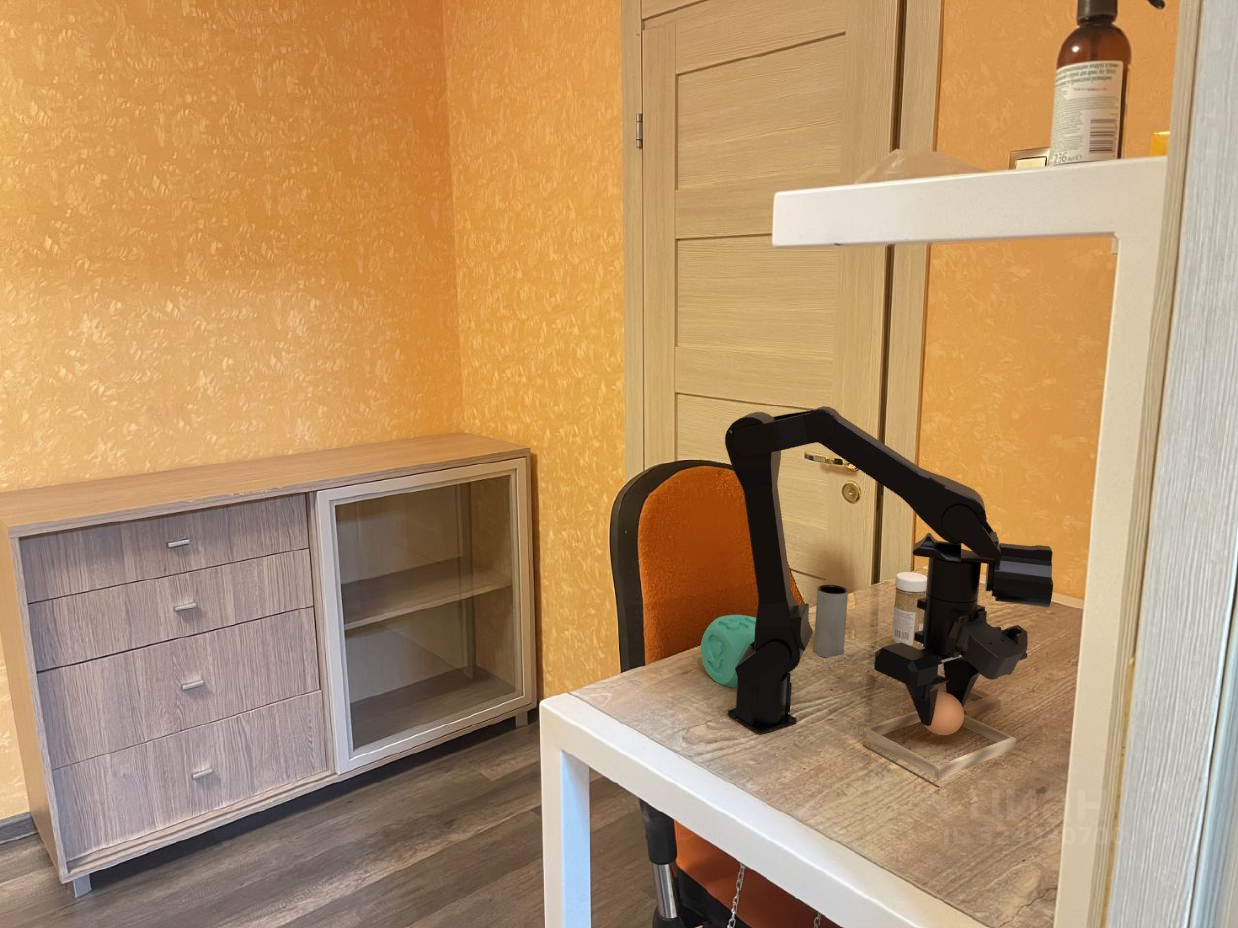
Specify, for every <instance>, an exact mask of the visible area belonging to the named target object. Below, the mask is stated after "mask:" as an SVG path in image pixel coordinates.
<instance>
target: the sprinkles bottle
mask: <svg viewBox="0 0 1238 928" xmlns="http://www.w3.org/2000/svg"><path fill="white" fill-rule="evenodd" d="M894 584H895V585H894V586H895V597H894V598H895V599H894V608H893V618H892V619H893V620H892V621H893V622H892V633H891V639H892V641H891V642H892V643H891V645H893V644H897V643H901V642H902V643H905V644H907V645H909V646H912V647H914V648H917V649H922V646H923V644H922V643H919V642H917V641H914V635H915V632H918V631H922V630H923V621H924V610H922V609H920V608H917V599H921V598H926V586H927V576H926V575H924V574H922V573H918V572H912V571H904V572H903V571H901V572H899V573H897V574H896V575H895V583H894Z"/></svg>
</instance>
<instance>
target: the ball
mask: <svg viewBox="0 0 1238 928" xmlns="http://www.w3.org/2000/svg"><path fill="white" fill-rule="evenodd" d="M963 720H964V711H963V707H962V705H961V703H960V702H959V701H958V700H957V699H956V698H955V697H954V696H953V695H951V694H949V693H946V692H938V693H937V699H936V704H935V710H934V715H933V719H932V723H931V725H930V726H926V725H924V727H925V728H926V729H927V730H928V731H929V732H932V733H933V734H935V735H940V736H949V735H952V734H954V733H956V732H957V731H958V730H959V729H960V728H961V727H962V726H961V725H962V723H963Z"/></svg>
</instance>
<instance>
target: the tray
mask: <svg viewBox="0 0 1238 928" xmlns="http://www.w3.org/2000/svg"><path fill="white" fill-rule="evenodd" d="M918 723H921V720H920V718H919V715H918V713H917V711H916V710H915V711H911V712H909V713H906V714H903V715H899V716H896V717H894V718H891V719H887V720H885V721H882V722H879V723H876V724H873V725H869V726H867V727H864V728H863V734H862V739H863V740H864V741H866V742H868V743H870V744H871V745H873V746H876V747H877V748H879V749H881V750H883V751H885V752H887V753H888V754H890V755H892V756H894V757H896V758H898V759H899V760H902V761H903V762H905V763H907V764H908V765H911V766H912V767H914V768H916V769H917V770H919V771H921V772H923V773H925V774H926V775H929V776H930V777H932V778H934V779H936V780H937V781H940V780H942V779H945V778H947V777H949V776H952V775H954V774H956V773H960V772H962V771H964V770H967V769H970V768H972V767H974V766H977V765H980V764H982V763H984V762H987V761H988V760H992V759H994V758H996V757H999V756H1001V755H1004V754H1007V753H1009V752H1012V751H1014V750H1016V747H1017V740H1018V739H1017V738H1016V737H1014V736H1012V735H1011V734H1008V733H1006V732H1003V731H1001V730H999V729H997V728H995V727H992V726H990V725H988V724H986V723H984V722H982V721H980V720H978V719H976V718H973V717H972V718H971V717H969V716H967V715H964V720H963V723H962V725H961V727H962V728H963V727H964V728H966V729H967V730H970V731H972V732H974V733H976V734H978V735H980V736H982V737H985V738H986V739H989V740H991V741H992V742H995V743H993V744H990V745H988V746H985V747H983V748H980V749H978V750H975V751H972V752H970V753H968V754H967V753H966V754H965V755H962V756H960V757H957V758H954V759H953V760H949V761H947V762H944V763H941V764H939V765H938V764H936V763H935V762H933V761H931V760H929V759H927V758H925V757H923V756H921V755H919V754H918V753H916V752H914V751H912V750H910V749H908V748H906V747H904V746H903V745H901V744H899V743H897V742H895V741H893V740H891V739H889V738H887V737H885V736H883V735H886V734H889V733H892V732H895V731H899V730H901V729H905V728H907V727H909V726H912V725H913V726H914V725H915V724H918ZM862 747H863V748H865V749H867V750H869V751H871V752H873V753H874V754H876V755H878V756H880V757H882V758H883V759H885V760H887V761H889V762H891V763H892V764H895V765H896V766H898V767H899V768H902V769H903V770H905V771H907V772H909V773H910V774H913V775H914V776H915V777H917V778H919V779H921V780H923V781H925V782H926V783H928V784H930V785H931V786H934V787H935V788H937V789H938V788H940V787H941V786H939V784H937V783H934V782H933V781H931V780H929V779H927V778H925V777H923V776H922V775H920V774H918V773H916V772H915V771H912V769H911V770H910V769H909V768H908V767H905V766H903V765H902V764H901V763H898V762H896V761H895V760H894V759H892V758H889V757H887V756H885V755H884V754H882V753H880V752H878V751H877V750H875V749H873V748H871V747H870V746H867V745H865V744H864V743H862Z"/></svg>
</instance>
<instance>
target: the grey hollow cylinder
mask: <svg viewBox="0 0 1238 928" xmlns="http://www.w3.org/2000/svg"><path fill="white" fill-rule="evenodd" d="M816 589H817V591H816V606H815V621H814V636H813V637H814V639H813V653H814V652H815V653H816V654H817V656H818V655H819V657H821V656H822V657H821V658H824V657H825V658H826V659H828V658H833V657H836V656H840V655H844V653H845V641H846V627H847V626H846V624H847V610H848V598H849V597H848V595H849V590H848V589H847V588H846V587H844V586H842V585H838V584H837V585H836V584H822V585H819V586H818V587H817V588H816ZM815 653H814V654H815ZM816 654H815V655H816Z"/></svg>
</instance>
